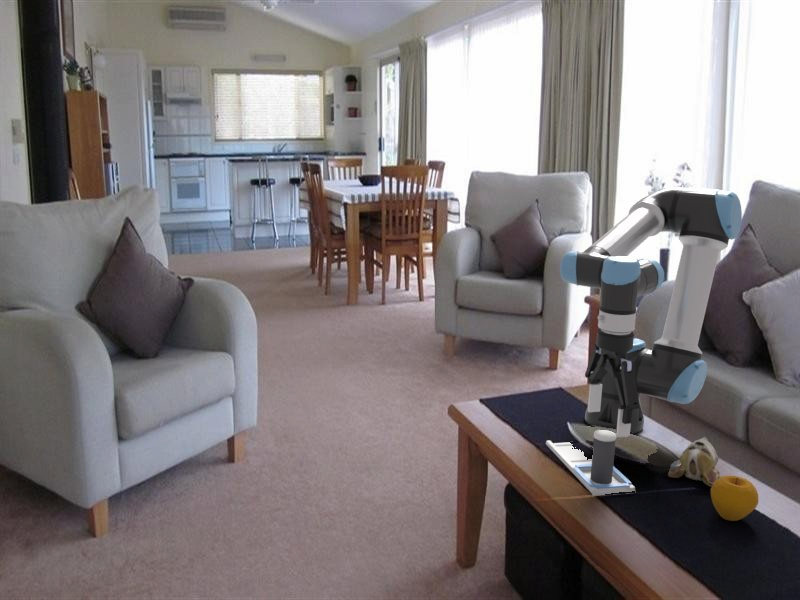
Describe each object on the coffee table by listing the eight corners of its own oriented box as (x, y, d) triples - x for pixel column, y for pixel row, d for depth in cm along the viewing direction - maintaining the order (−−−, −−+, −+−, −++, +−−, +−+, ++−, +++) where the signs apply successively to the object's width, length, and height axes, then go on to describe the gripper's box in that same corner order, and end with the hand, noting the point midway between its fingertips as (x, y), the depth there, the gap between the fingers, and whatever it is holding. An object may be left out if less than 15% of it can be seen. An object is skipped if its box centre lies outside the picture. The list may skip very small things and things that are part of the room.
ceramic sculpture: (730, 435, 169) (718, 462, 157) (726, 469, 172) (714, 499, 159) (681, 425, 175) (667, 451, 162) (678, 458, 177) (663, 486, 165)
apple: (742, 535, 144) (749, 492, 142) (698, 516, 150) (704, 476, 148) (762, 520, 149) (768, 479, 147) (719, 503, 156) (724, 463, 154)
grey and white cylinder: (606, 473, 167) (610, 429, 164) (616, 483, 162) (620, 437, 160) (586, 475, 166) (590, 430, 163) (596, 485, 161) (600, 439, 159)
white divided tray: (582, 443, 184) (583, 437, 184) (635, 492, 159) (636, 485, 159) (545, 445, 182) (545, 439, 182) (592, 496, 157) (593, 489, 157)
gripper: (574, 315, 167) (568, 403, 173) (628, 348, 144) (619, 449, 149) (605, 314, 169) (597, 401, 174) (663, 346, 145) (653, 446, 150)
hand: (607, 423), depth 161 cm, fingers open, 13 cm apart
